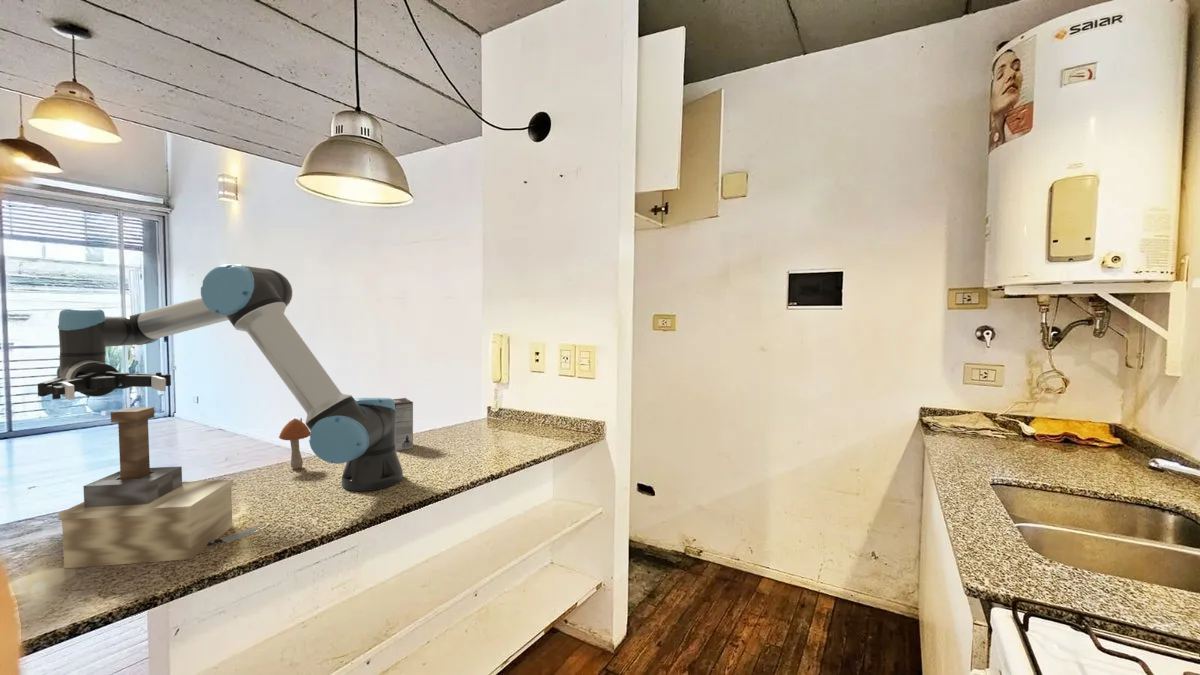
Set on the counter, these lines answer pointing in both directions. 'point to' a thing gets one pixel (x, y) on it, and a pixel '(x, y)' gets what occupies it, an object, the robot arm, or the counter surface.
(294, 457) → the mushroom
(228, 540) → the chef's knife
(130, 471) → the brown t-shaped block
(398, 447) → the coffee box
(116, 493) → the tan two-tone block
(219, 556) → the counter surface
